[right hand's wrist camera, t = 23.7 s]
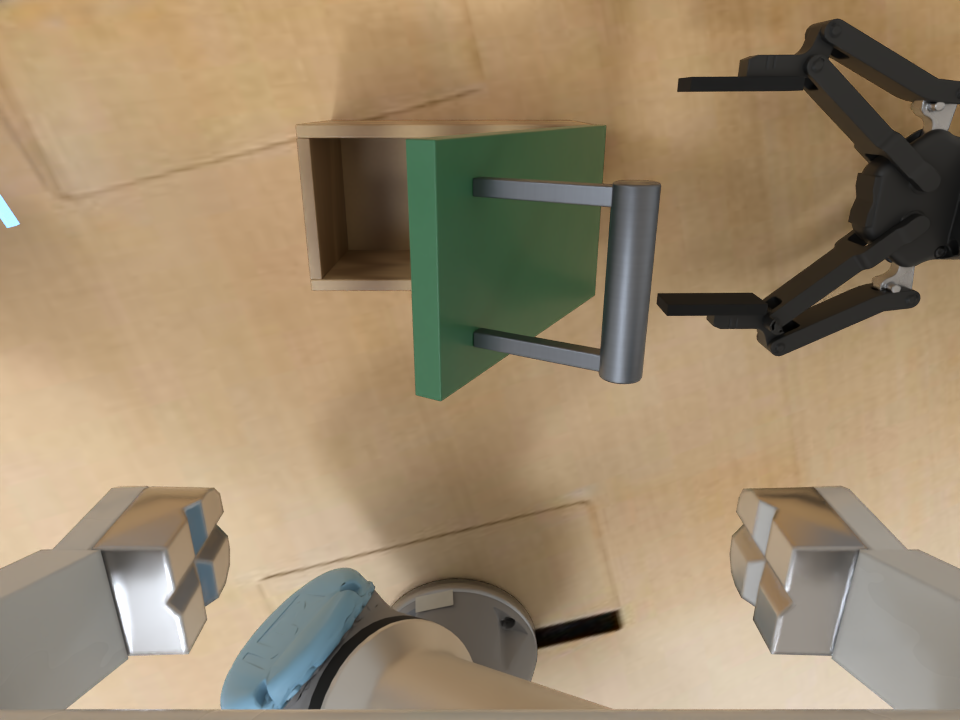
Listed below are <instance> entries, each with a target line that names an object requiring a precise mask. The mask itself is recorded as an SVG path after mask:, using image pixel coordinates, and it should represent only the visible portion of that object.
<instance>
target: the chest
mask: <svg viewBox="0 0 960 720" xmlns="http://www.w3.org/2000/svg"><path fill="white" fill-rule="evenodd" d="M577 125H592V124H587V123H582V122H577V121H572V120H329V121H320V122H312V123H304V124H297V125H296V135H297V147H298V158H299V168H300V178H301V189H302V199H303V209H304V219H305V230H306V240H307V250H308V260H309V271H310V279H311V289H312V291H412V289H411V264H410V238H409V213H408V187H407V162H406V139H410V138H423V137H436V136H448V135H461V134H474V133H487V132H500V131H513V130H525V129H538V128H551V127H564V126H577Z"/></svg>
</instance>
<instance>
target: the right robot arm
mask: <svg viewBox="0 0 960 720" xmlns="http://www.w3.org/2000/svg"><path fill="white" fill-rule="evenodd" d="M0 218H1V220H2V221H3V222H4V224H5V225H6V227H7V228H9V227H13V226H16V225H18V224H20V223H19V222H18V220H17V219H16V217H15V216H14V215H13V213H12V212H11V210H10V209H9V207H8V206H7V204H6V203H5V201H4V200H3V198H2V197H1V195H0ZM223 512H224V510H223V506H222V501H221V496H220V493H219V492H218V491H217V490H216V489H215V488H202V487H148V486H120V487H116V488H111V490H110V491H109V492H108V493H107V494H106V495H105V496H104V497H103V498H102V499H101V500H100V501H99V502H98V503H97V504H96V505H95V506H94V507H93V508H92V509H91V510H90V511H89V512H88V513H87V514H86V515H85V516H84V517H83V518H82V519H81V520H80V522H79V523H78V524H77V525H76V526H75V527H74V528H73V529H72V530H71V531H70V532H69V533H68V534H67V535H66V536H65V537H64V538H63V539H62V540H61V541H60V542H59V543H58V544H57V545H56V546H55V547H54V548H53V549H52V550H40V551H38V552H35V553H33V554H31V555H29V556H27V557H25V558H22V559H20V560H18V561H16V562H14V563H12V564H9V565H7V566H5V567H3V568H1V569H0V720H960V569H959V568H957V567H955V566H953V565H950V564H948V563H946V562H944V561H942V560H940V559H937V558H935V557H933V556H931V555H929V554H927V553H925V552H922V551H920V550H908V549H907V548H906V547H905V546H904V545H903V544H902V543H901V542H900V541H899V540H898V539H897V538H896V537H895V536H894V535H893V534H892V533H891V532H890V531H889V530H888V529H887V528H886V527H885V526H884V525H883V524H882V522H881V521H880V520H879V519H878V518H877V517H876V516H875V515H874V514H873V513H872V512H871V511H870V510H869V509H868V508H867V507H866V506H865V505H864V504H863V503H862V502H861V501H860V500H859V499H858V498H857V497H856V496H855V494H854V493H853V492H852V491H851V490H850V489H847V488H845V487H843V486H822V487H799V488H758V489H743V490H742V492H741V494H740V496H739V499H738V505H737V510H736V512H737V514H738V516H739V517H740V519H741V521H742V522H743V525H742V526H741V527H740V528H739V529H738V531H737V532H736V533H735V534H734V535H733V536H732V540H731V548H730V564H731V573H732V576H733V580H734V583H735V586H736V588H737V590H738V592H739V594H740V596H741V598H743V599H744V600H746V601H747V602H749V603H750V604H752V605H753V606H755V610H754V616H753V621H754V622H755V624H756V626H757V628H758V630H759V632H760V634H761V635H762V637H763V639H764V641H765V643H766V645H767V647H768V648H769V650H770V652H771V654H787V655H824V656H832V659H833V660H834V661H835V662H837V663H838V664H839V665H840V666H842V667H843V668H844V669H845V670H846V671H848V672H849V673H850V674H851V675H853V676H854V677H855V678H856V679H858V680H859V681H860V682H861V683H863V684H864V685H865V686H866V687H868V688H869V689H870V690H871V691H873V692H874V693H875V694H876V695H878V696H879V697H880V698H881V699H883V700H884V701H885V702H886V703H888V704H889V705H890V706H891V707H893V708H894V709H66V708H68V707H69V706H70V705H71V704H73V703H74V702H75V701H76V700H78V699H79V698H80V697H81V696H83V695H84V694H85V693H86V692H88V691H89V690H90V689H91V688H93V687H94V686H95V685H96V684H98V683H99V682H100V681H101V680H103V679H104V678H105V677H106V676H108V675H109V674H110V673H111V672H113V671H114V670H115V669H116V668H118V667H119V666H120V665H121V664H122V663H124V662H125V661H126V660H127V659H128V656H136V655H171V654H189V652H190V650H191V649H192V647H193V645H194V643H195V641H196V639H197V637H198V635H199V634H200V632H201V630H202V628H203V626H204V624H205V622H206V621H207V616H206V610H205V606H207V605H208V604H210V603H211V602H213V601H214V600H216V599H217V598H219V596H220V594H221V592H222V590H223V588H224V586H225V584H226V580H227V575H228V571H229V566H230V546H229V540H228V536H227V535H226V534H225V533H224V532H223V531H222V530H221V528H220V527H219V526H218V525H217V522H218V521H219V519H220V517H221V516H222V514H223Z"/></svg>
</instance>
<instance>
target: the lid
mask: <svg viewBox="0 0 960 720" xmlns="http://www.w3.org/2000/svg"><path fill="white" fill-rule="evenodd" d="M605 137H606V125H577V126H564V127H551V128H538V129H525V130H513V131H500V132H487V133H474V134H461V135H448V136H436V137H423V138H410V139H406V162H407V187H408V213H409V238H410V264H411V289H412V315H413V340H414V366H415V391H416V395H418V396H422V397H426V398H430V399H434V400H438V401H442V400H444V399H445V398H447V397H448V396H450V395H451V394H452V393H454V392H455V391H457V390H458V389H460V388H461V387H463V386H464V385H465V384H467V383H468V382H470V381H471V380H473V379H474V378H476V377H477V376H479V375H480V374H481V373H483V372H484V371H486V370H487V369H489V368H490V367H492V366H493V365H494V364H496V363H497V362H499V361H500V360H502V359H503V358H505V357H506V356H508V355H509V354H513V355H518V356H523V357H528V358H533V359H538V360H543V361H548V362H553V363H558V364H563V365H568V366H573V367H578V368H584V369H589V370H594V371H599V375H600V377H601V378H602V379H604V380H606V381H608V382H612V383H617V384H631V383H636V382H638V381H640V379H641V378H642V372H643V362H644V352H645V342H646V332H647V322H648V312H649V302H650V291H651V281H652V271H653V261H654V251H655V241H656V231H657V221H658V211H659V201H660V191H661V184H660V183H658V182H655V181H646V180H620V181H616V182H613V184H602V182H603V167H604V152H605ZM601 206H603V207H611V212H610V226H609V239H608V253H607V267H606V281H605V294H604V308H603V322H602V335H601V349H597V348H592V347H586V346H581V345H575V344H569V343H564V342H558V341H553V340H547V339H542V338H536V337H535V336H537V335H538V334H539V333H541V332H542V331H544V330H545V329H547V328H548V327H550V326H551V325H553V324H554V323H555V322H557V321H558V320H560V319H561V318H563V317H564V316H566V315H567V314H568V313H570V312H571V311H573V310H574V309H576V308H577V307H579V306H580V305H582V304H583V303H584V302H586V301H587V300H589V299H590V298H592V297H593V296H595V286H596V271H597V256H598V241H599V226H600V212H601Z"/></svg>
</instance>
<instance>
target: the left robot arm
mask: <svg viewBox="0 0 960 720" xmlns="http://www.w3.org/2000/svg"><path fill="white" fill-rule="evenodd" d="M829 57H830V58H832V59H834V60H835V61H837V62H839V63H840V64H842V65H844V66H845V67H847V68H849V69H850V70H852V71H854V72H855V73H857V74H859V75H860V76H862V77H864V78H865V79H867V80H869V81H870V82H872V83H874V84H875V85H877V86H879V87H880V88H882V89H884V90H885V91H887V92H889V93H890V94H892V95H894V96H896V97H898V98H900V99H903V100H906V101H911V102H912V104H911V110H913V112H914V114H915V115H917V116H919V117H921V118H922V120H923V123H924V126H923V129H921V130H918V131H916V132H914V133H913V134H911V135H910V136H908V137H907V138H904V137H903V136H902V135H901V134H899V133H897V132H895V131H894V130H892V129H891V128H890V127H889V126H888V124H887V123H886V122H885V121H884V120H883V119H882V118H881V117H880V116H879V115H878V113H877V112H876V111H875V110H874V109H873V108H872V107H871V106H870V105H869V104H868V102H867V101H866V100H865V99H864V98H863V97H862V96H861V95H860V94H859V93H858V91H857V90H856V89H855V88H854V87H853V86H852V85H851V84H850V83H849V82H848V80H847V79H846V78H845V77H844V76H843V75H842V74H841V73H840V72H839V71H838V69H837V68H836V67H835V66H834V65H833V64H832V63H831V62H830V61H829V60H828V59H829ZM803 89H804V90H805V91H806V92H807V93H808V95H809V96H810V97H811V98H812V99H813V100H814V101H815V102H816V103H817V104H818V105H819V106H820V107H821V108H822V110H823V111H824V112H825V113H826V114H827V115H828V116H829V117H830V118H831V119H832V120H833V121H834V122H835V123H836V124H837V126H838V127H839V128H840V129H841V130H842V131H843V132H844V133H845V134H846V135H847V136H848V137H849V138H850V139H851V141H852V142H853V143H854V144H855V145H854V147H855V149H856V150H857V151H858V152H859V153H860V154H861V155H862V156H863V157H864V158H865V159H866V160H867V162H868V163H869V164H868V165H867V166H866V167H865V169H864V170H863V172H862V173H858V176H857V181H856V200H855V202H854V204H853V206H852V208H851V211H850V216H849V221H848V222H850V223H852V227H853V230H852V231H851V232H850V233H848V234H847V235H845V236H844V237H843V238H841V239H840V240H839V241H837V242H836V244H835V247H834V248H833V249H832V250H831V251H829V252H828V253H827V254H825V255H824V256H822V257H821V258H820V259H818V260H817V261H816V262H814V263H813V264H811V265H810V266H809V267H807V268H806V269H805V270H803V271H802V272H800V273H799V274H798V275H796V276H795V277H794V278H792V279H791V280H789V281H788V282H787V283H785V284H784V285H783V286H781V287H780V288H778V289H777V290H776V291H774V292H773V293H772V294H770V295H769V296H767V297H766V298H765V299H763V300H762V299H760V298H759V297H757V296H756V295H754V294H753V293H658V296H657V305H658V306H659V307H660V308H661V309H662V311H663V312H664V313H665V314H666V315H667V316H707V320H708V321H709V322H710V323H711V324H712V325H713V326H714V327H717V328H720V329H757V332H758V333H757V340H758V342H759V343H761V344H762V345H763V346H764V347H765V348H766V349H767V350H769V351H770V352H771V353H772V354H773V355H775V356H781V355H784V354H786V353H789V352H791V351H793V350H796V349H798V348H800V347H803V346H805V345H807V344H809V343H812V342H814V341H816V340H819V339H821V338H823V337H826V336H828V335H830V334H832V333H835V332H837V331H839V330H842V329H844V328H846V327H849V326H851V325H853V324H855V323H858V322H860V321H862V320H865V319H867V318H869V317H872V316H874V315H876V314H878V313H881V312H883V311H890V310H899V309H908V308H912V307H914V306H916V305H917V304H918V303H919V301H920V294H919V293H918V292H917V291H915V290H912V283H913V275H914V267H915V266H916V265H918V264H920V263H922V262H925V261H928V260H933V259H960V137H957V136H955V135H953V134H951V133H950V132H948V129H949V126H950V124H951V121H952V118H953V115H954V112H955V109H956V107H957V104H960V81H953V80H944V79H938V78H936V77H934V76H933V75H931V74H930V73H928V72H926V71H925V70H923V69H921V68H920V67H918V66H916V65H915V64H913V63H912V62H910V61H908V60H907V59H905V58H903V57H902V56H900V55H899V54H897V53H895V52H894V51H892V50H890V49H889V48H887V47H885V46H884V45H882V44H881V43H879V42H877V41H876V40H874V39H872V38H871V37H869V36H867V35H866V34H864V33H863V32H861V31H859V30H858V29H856V28H854V27H853V26H851V25H850V24H848V23H846V22H845V21H843V20H841V19H833V20H829V21H824V22H820V23H816V24H813V25H811V26H810V27H809V28H808V29H807V30H806V33H805V42H804V44H803V46H802V47H801V49H800V50H799V51H798V52H797V53H796V54H795V55H755V56H749V57H747V58H744V59H742V60H740V65H739V72H738V77H688V78H679V80H678V90H677V92H716V91H800V90H803ZM867 244H868V245H867ZM865 245H867V246H865ZM884 259H886V260H887V261H888V262H890V263H891V267H890V269H889V270H888V271H887V272H886V273H884V274H881V275H879V276H875V277H873V279H872V283H871V284H865V285H862V286H858V287H856V288H853V289H851V290H848V291H846V292H844V293H842V294H839V295H837V296H835V297H833V298H830V299H828V300H826V301H824V302H821V303H819V304H817V305H815V306H812V305H814V304H815V303H817V302H818V301H819V300H821V299H822V298H824V297H825V296H826V295H828V294H829V293H831V292H832V291H833V290H835V289H836V288H838V287H839V286H841V285H842V284H843V283H845V282H846V281H848V280H849V279H850V278H852V277H853V276H855V275H856V274H857V273H859V272H860V271H862V270H865V269H870V268H872V267H874V266H876V265H877V264H879V263H880V262H881V261H883V260H884ZM811 306H812V307H811ZM536 661H537V642H536V634H535V628H534V625H533V622H532V620H531V618H530V616H529V614H528V612H527V611H526V610H525V608H524V607H523V606H522V605H521V604H520V602H518V601H517V600H516V599H515V598H514V597H513V596H511V595H510V594H508V593H507V592H505V591H503V590H502V589H500V588H498V587H495V586H493V585H490V584H487V583H484V582H480V581H475V580H468V579H446V580H439V581H434V582H431V583H427V584H424V585H422V586H419V587H417V588H415V589H413V590H411V591H410V592H408V593H406V594H405V595H404V596H402V597H401V598H400V599H399V600H398V601H397V602H396V603H395V604H394V605H393V606H392V607H390V606H389V605H388V604H387V603H386V602H385V601H384V600H383V599H382V598H381V597H380V596H379V594H378V593H377V592H376V591H375V586H374V585H373V582H370V581H367V580H366V579H364V578H363V576H362V575H361V574H360V573H359V572H357V571H356V570H354V569H351V568H339V569H334V570H331V571H328V572H326V573H324V574H322V575H320V576H318V577H316V578H315V579H313V580H312V581H310V582H309V583H307V584H306V585H304V586H303V587H302V588H301V589H299V590H298V591H296V592H295V593H294V594H293V595H291V596H290V597H289V598H288V599H287V600H286V601H285V602H283V603H282V604H281V605H280V606H279V607H278V608H277V609H276V610H275V611H274V612H273V613H272V614H271V615H270V616H269V617H268V618H267V619H266V620H265V621H264V623H263V624H262V625H261V626H260V627H259V628H258V629H257V631H256V632H255V633H254V634H253V635H252V637H251V638H250V639H249V641H248V642H247V643H246V645H245V646H244V647H243V649H242V650H241V652H240V653H239V655H238V656H237V658H236V660H235V661H234V663H233V665H232V667H231V669H230V671H229V672H228V674H227V677H226V679H225V682H224V685H223V688H222V692H221V701H220V702H221V709H611V708H608V707H605V706H602V705H599V704H596V703H593V702H590V701H587V700H584V699H581V698H578V697H575V696H572V695H569V694H566V693H563V692H560V691H557V690H554V689H551V688H548V687H545V686H542V685H539V684H536V683H533V682H531V680H532V676H533V673H534V670H535V666H536Z"/></svg>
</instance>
